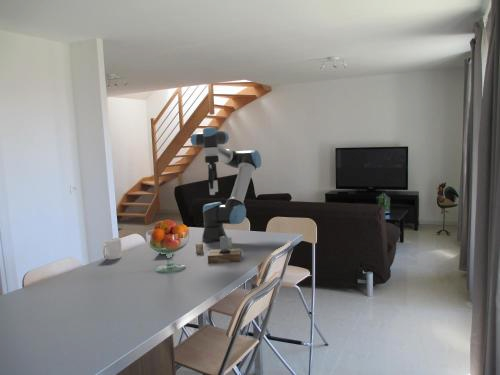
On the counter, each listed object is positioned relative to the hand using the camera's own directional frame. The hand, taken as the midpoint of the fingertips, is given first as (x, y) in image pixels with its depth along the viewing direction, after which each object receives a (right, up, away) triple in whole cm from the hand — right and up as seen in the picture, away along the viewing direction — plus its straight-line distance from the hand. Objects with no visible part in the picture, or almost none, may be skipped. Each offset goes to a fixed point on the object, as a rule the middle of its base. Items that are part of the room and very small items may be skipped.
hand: (214, 193), depth 230 cm
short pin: (-7, -33, -4) cm, 34 cm away
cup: (-56, -36, -5) cm, 66 cm away
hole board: (+8, -34, -21) cm, 40 cm away
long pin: (+8, -34, -21) cm, 40 cm away
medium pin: (+8, -32, -5) cm, 33 cm away
